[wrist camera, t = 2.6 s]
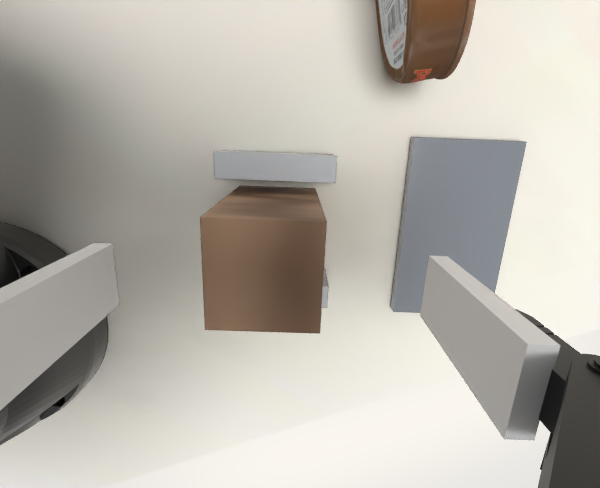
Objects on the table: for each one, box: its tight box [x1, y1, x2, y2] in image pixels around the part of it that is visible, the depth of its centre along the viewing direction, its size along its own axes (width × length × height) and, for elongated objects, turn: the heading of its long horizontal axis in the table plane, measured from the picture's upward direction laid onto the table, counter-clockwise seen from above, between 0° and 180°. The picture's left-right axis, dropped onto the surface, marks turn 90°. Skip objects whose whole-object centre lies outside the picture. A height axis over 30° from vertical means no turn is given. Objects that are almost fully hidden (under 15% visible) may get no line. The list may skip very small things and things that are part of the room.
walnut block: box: [200, 186, 327, 333], centre depth 19 cm, size 5×5×10 cm
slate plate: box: [390, 137, 526, 313], centre depth 24 cm, size 7×12×1 cm, turn 178°
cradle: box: [214, 150, 337, 308], centre depth 23 cm, size 7×10×3 cm
